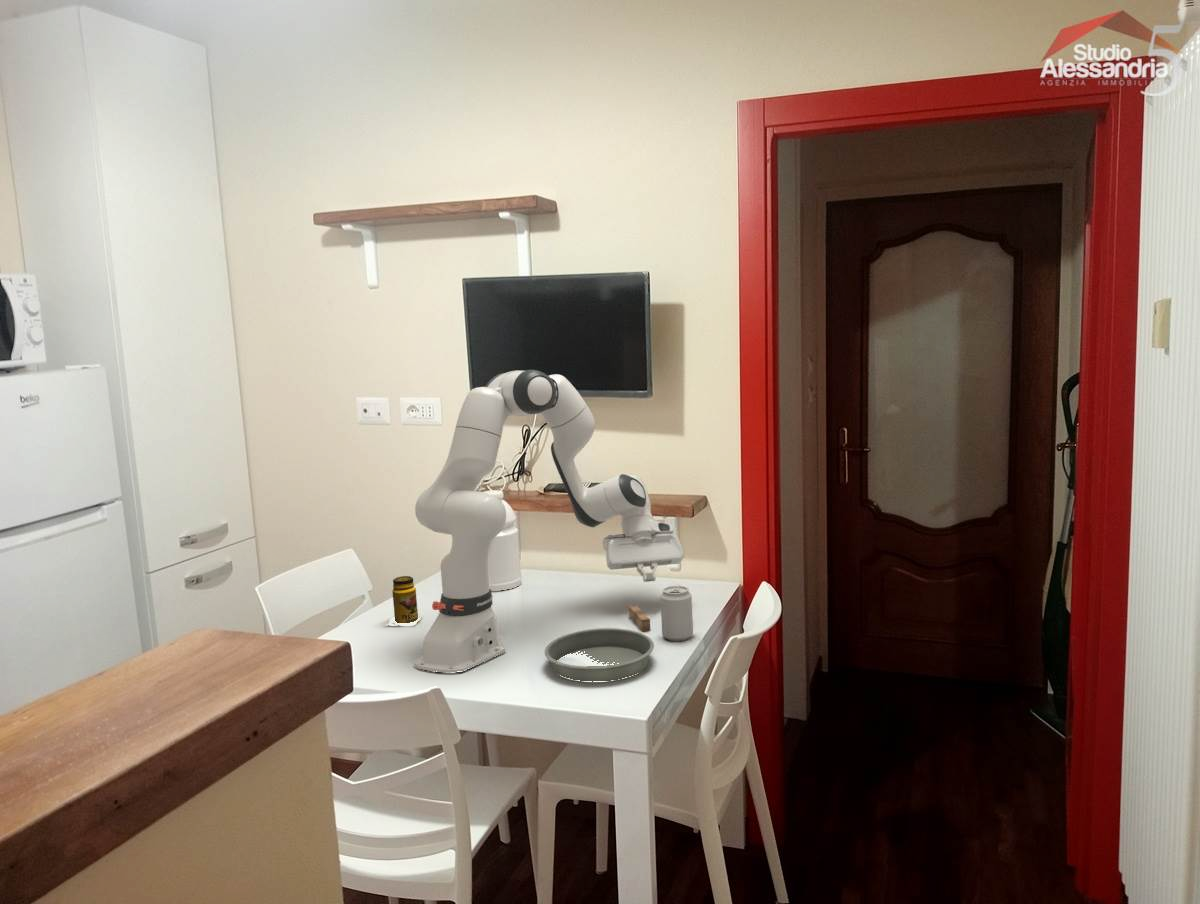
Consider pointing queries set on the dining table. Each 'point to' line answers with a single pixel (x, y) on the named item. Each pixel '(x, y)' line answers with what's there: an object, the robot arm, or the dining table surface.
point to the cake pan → (601, 653)
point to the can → (676, 613)
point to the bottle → (504, 552)
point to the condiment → (404, 600)
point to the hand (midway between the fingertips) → (649, 580)
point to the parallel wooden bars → (639, 618)
